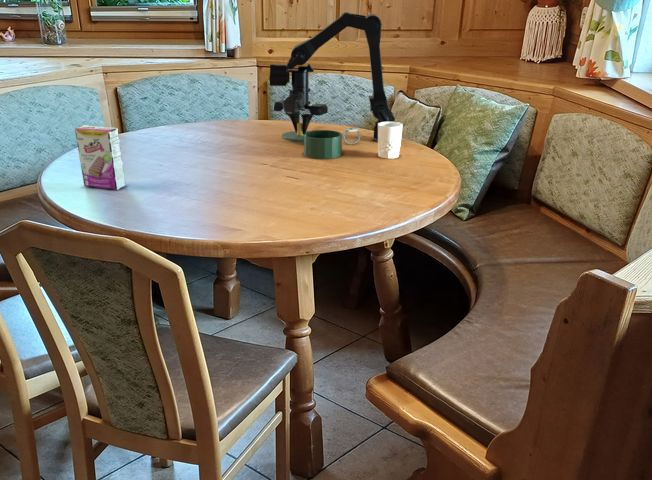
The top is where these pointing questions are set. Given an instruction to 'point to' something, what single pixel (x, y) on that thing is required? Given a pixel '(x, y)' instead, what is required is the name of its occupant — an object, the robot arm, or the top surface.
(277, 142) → the top surface
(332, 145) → the tin
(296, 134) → the tin lid
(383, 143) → the white cup
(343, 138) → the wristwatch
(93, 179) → the candy bar box
